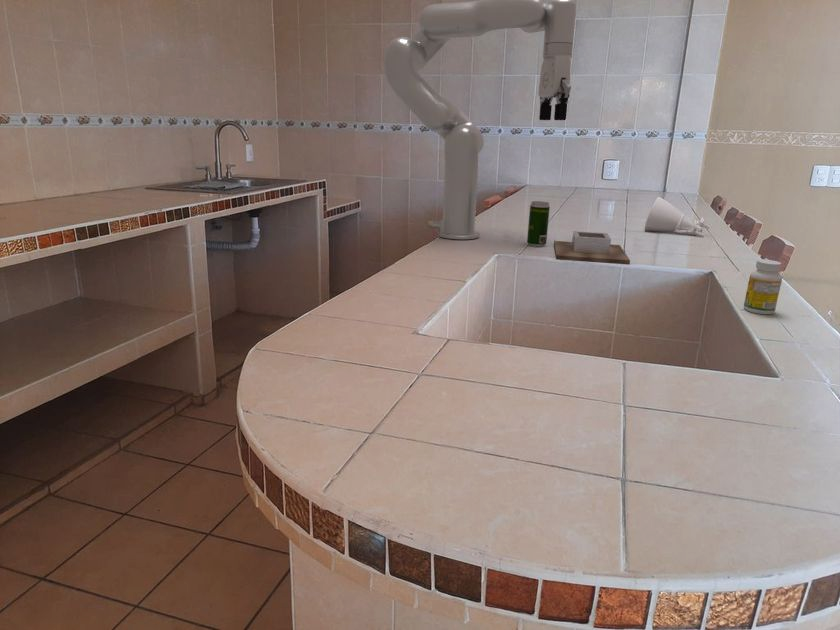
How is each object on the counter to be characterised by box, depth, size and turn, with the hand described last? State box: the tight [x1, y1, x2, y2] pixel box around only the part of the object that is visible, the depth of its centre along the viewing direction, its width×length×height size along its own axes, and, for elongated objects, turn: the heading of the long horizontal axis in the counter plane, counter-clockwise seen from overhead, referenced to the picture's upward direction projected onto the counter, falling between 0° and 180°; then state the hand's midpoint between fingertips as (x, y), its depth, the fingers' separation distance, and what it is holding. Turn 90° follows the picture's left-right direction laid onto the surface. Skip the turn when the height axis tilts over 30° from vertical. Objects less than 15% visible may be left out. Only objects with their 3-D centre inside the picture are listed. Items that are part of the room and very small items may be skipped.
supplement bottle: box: [743, 259, 783, 315], centre depth 113 cm, size 5×5×10 cm
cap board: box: [553, 230, 631, 265], centre depth 160 cm, size 18×20×5 cm
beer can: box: [526, 200, 551, 248], centre depth 168 cm, size 5×5×12 cm
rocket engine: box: [644, 196, 711, 238], centre depth 195 cm, size 12×12×18 cm
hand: (552, 120), depth 163 cm, fingers open, 9 cm apart
